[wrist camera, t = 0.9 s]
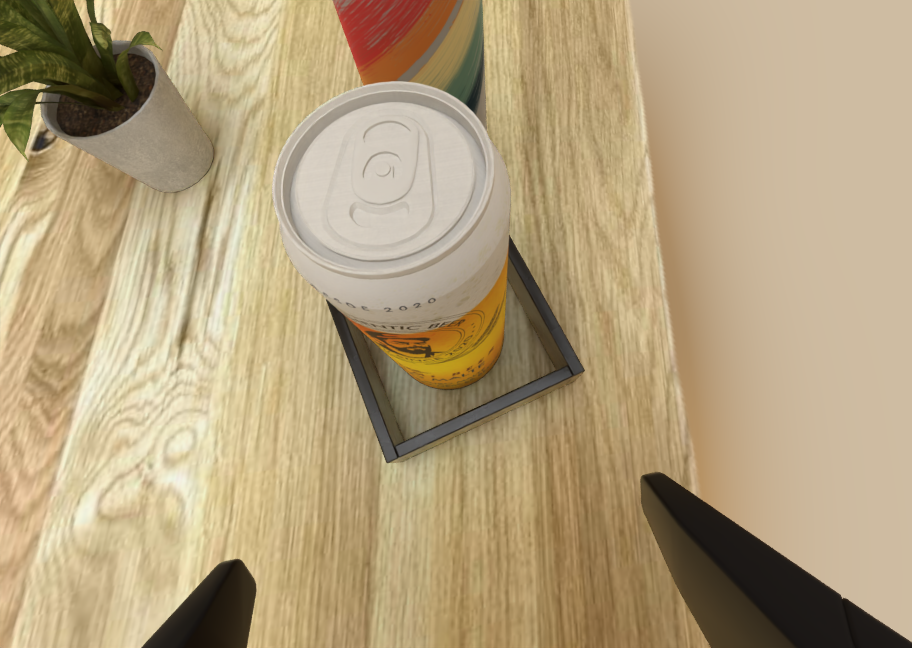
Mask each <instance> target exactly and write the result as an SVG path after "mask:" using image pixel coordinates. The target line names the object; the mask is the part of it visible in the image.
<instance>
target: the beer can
mask: <svg viewBox="0 0 912 648" xmlns="http://www.w3.org/2000/svg"><path fill="white" fill-rule="evenodd" d="M272 192H273V203H274V208H275V212H276V215H277V218H278V220H279V226H280V233H281V238H282V242H283V245H284V247H285V250H286V253H287V255H288V257H289V259H290V261H291V262H292V264H293V265H294V267H295V268H296V270H297V271H298V272H299V273H300V275H301V276H302V277H303V278H304V279H305V280H306V281H307V282H308V283H309V284H310V285H311V286H313V287H314V288H315V289H316V290H317V291H318V292H319V293H320V294H321V295H322V296H324V297H325V298H326V299H327V300H328V301H329V302H330V303H331V304H332V305H333V306H335V307H336V308H337V309H338V310H339V311H340V312H341V313H342V314H343V315H344V316H346V317H347V318H348V319H349V320H350V321H351V322H352V323H353V324H354V325H355V326H357V327H358V328H359V329H360V330H361V331H362V332H363V333H364V334H365V335H366V336H368V337H369V338H370V339H371V340H372V341H373V342H374V343H375V344H376V345H377V346H379V347H380V348H381V349H382V350H383V351H384V352H385V353H386V354H387V355H388V356H390V357H391V358H392V359H393V360H394V361H395V362H396V363H397V364H398V365H399V366H401V367H402V368H403V369H404V370H405V371H406V372H407V373H408V374H409V375H411V376H412V377H413V378H414V379H416V380H417V381H419V382H420V383H422V384H424V385H427V386H430V387H433V388H437V389H457V388H462V387H465V386H468V385H470V384H472V383H474V382H476V381H478V380H479V379H481V378H482V377H483V376H485V375H486V374H487V373H488V372H489V371H490V370H491V368H492V367H493V366H494V364H495V363H496V361H497V359H498V358H499V355H500V353H501V350H502V346H503V340H504V324H505V305H506V285H507V266H508V246H509V226H510V207H511V188H510V180H509V176H508V172H507V168H506V166H505V163H504V161H503V158H502V156H501V154H500V153H499V151H498V149H497V148H496V146H495V145H494V144H493V142H492V141H491V140H490V138H489V137H488V134H487V132H486V130H485V128H484V126H483V125H482V123H481V121H480V120H479V119H478V118H477V116H476V115H475V114H474V113H473V112H472V111H471V110H470V109H469V108H468V107H467V106H466V105H465V104H464V103H462V102H461V101H460V100H458V99H457V98H455V97H454V96H452V95H450V94H448V93H446V92H444V91H442V90H440V89H437V88H434V87H431V86H428V85H424V84H419V83H413V82H403V81H391V82H379V83H374V84H368V85H364V86H361V87H357V88H354V89H352V90H349V91H346V92H344V93H342V94H340V95H338V96H335V97H333V98H332V99H330V100H328V101H327V102H325V103H323V104H322V105H321V106H319V107H318V108H317V109H315V110H314V111H313V112H311V113H310V114H309V115H308V116H307V117H306V118H305V119H304V120H303V121H302V122H301V123H300V124H299V125H298V126H297V127H296V129H295V130H294V131H293V133H292V134H291V135H290V137H289V138H288V140H287V142H286V143H285V145H284V147H283V149H282V151H281V153H280V155H279V158H278V161H277V164H276V167H275V171H274V176H273V187H272Z"/></svg>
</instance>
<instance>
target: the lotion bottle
mask: <svg viewBox="0 0 912 648" xmlns="http://www.w3.org/2000/svg"><path fill="white" fill-rule="evenodd" d="M333 3H334V5H335V8H336V11H337V14H338V16H339V19H340V22H341V25H342V27H343V30H344V33H345V36H346V38H347V41H348V44H349V47H350V49H351V52H352V55H353V58H354V60H355V63H356V66H357V69H358V71H359V74H360V77H361V80H362V82H363V85H368V84H374V83H379V82H391V81H403V82H413V83H419V84H424V85H428V86H431V87H434V88H437V89H440V90H442V91H444V92H446V93H448V94H450V95H452V96H454V97H455V98H457V99H458V100H460V101H461V102H462V103H464V104H465V105H466V106H467V107H468V108H469V109H470V110H471V111H472V112H473V113H474V114H475V115H476V116H477V118H478V119H479V120H480V121H481V123H482V125H483V126H484V128H485V130H486V132H487V123H486V94H485V65H484V37H483V8H482V0H333Z"/></svg>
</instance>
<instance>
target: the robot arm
mask: <svg viewBox="0 0 912 648" xmlns="http://www.w3.org/2000/svg"><path fill="white" fill-rule="evenodd" d="M640 482H641V504H642V508H643V511H644V514H645V516H646V518H647V520H648V523H649V525H650V527H651V530H652V532H653V534H654V536H655V539H656V541H657V543H658V545H659V548H660V550H661V552H662V555H663V557H664V559H665V561H666V564H667V566H668V568H669V571H670V573H671V575H672V577H673V579H674V581H675V584H676V586H677V588H678V589H679V591H680V593H681V595H682V597H683V599H684V600H685V602H686V604H687V606H688V608H689V609H690V611H691V613H692V615H693V616H694V618H695V620H696V622H697V624H698V625H699V627H700V629H701V631H702V632H703V634H704V636H705V638H706V640H707V641H708V643H709V645H710V647H711V648H912V642H910V641H909V640H907V639H906V638H904V637H903V636H901V635H900V634H898V633H897V632H895V631H894V630H892V629H891V628H889V627H888V626H886V625H885V624H883V623H882V622H880V621H879V620H877V619H875V618H874V617H873V616H871V615H870V614H868V613H867V612H865V611H864V610H862V609H861V608H859V607H858V606H856V605H855V604H853V603H852V602H850V601H849V600H848V599H845V598H843V599H842V597H841V595H840V594H839V593H837V592H836V591H834V590H833V589H831V588H830V587H828V586H826V585H825V584H824V583H822V582H821V581H820V580H818V579H817V578H815V577H814V576H812V575H811V574H809V573H808V572H806V571H805V570H803V569H802V568H801V567H799V566H798V565H796V564H795V563H793V562H792V561H790V560H789V559H787V558H786V557H784V556H783V555H781V554H780V553H778V552H777V551H776V550H774V549H773V548H771V547H770V546H768V545H767V544H765V543H764V542H763V541H761V540H760V539H758V538H757V537H755V536H754V535H752V534H751V533H749V532H748V531H746V530H745V529H743V528H742V527H740V526H739V525H738V524H736V523H735V522H733V521H732V520H730V519H729V518H727V517H726V516H725V515H723V514H722V513H720V512H718V511H717V510H716V509H714V508H713V507H711V506H710V505H708V504H707V503H706V502H704V501H703V500H701V499H700V498H698V497H697V496H695V495H694V494H692V493H691V492H689V491H688V490H686V489H685V488H684V487H682V486H681V485H679V484H678V483H676V482H675V481H673V480H672V479H670V478H669V477H667V476H666V475H665V474H663V473H661V472H655V473H650V474H645V475H642V476H641V480H640ZM255 597H256V583H255V580H254V578H253V577H252V575H251V574H250V572H249V570H248V569H247V567H246V566H245V564H244V563H243V562H242V560H240V559H234V560H229V561H224V562H221V563H220V564H218V565H217V566H216V567H215V568H214V569H213V570H212V572H211V573H210V574H209V575H208V576H207V577H206V578H205V579H204V580H203V581H202V582H201V583H200V585H199V586H198V587H197V588H196V589H195V590H194V591H193V592H192V593H191V594H190V595H189V596H188V598H187V599H186V600H185V601H184V602H183V603H182V604H181V605H180V606H179V607H178V608H177V610H176V611H175V612H174V613H173V614H172V615H171V616H170V617H169V618H168V619H167V620H166V621H165V623H164V624H163V625H162V626H161V627H160V628H159V629H158V630H157V631H156V632H155V633H154V634H153V636H152V637H151V638H150V639H149V640H148V641H147V642H146V643H145V644H144V645H143V646H142V647H141V648H247V643H248V637H249V631H250V625H251V620H252V614H253V608H254V602H255Z"/></svg>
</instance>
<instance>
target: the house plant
mask: <svg viewBox="0 0 912 648" xmlns="http://www.w3.org/2000/svg"><path fill="white" fill-rule="evenodd" d="M86 1H87V10H88V14H89V17H90V20H91V22H89V23H90V26H91V31H92V36H93V40H94V43H95V45H94V46H92V44H91V42H90V39H89V37H88V35H87V33H86V31H85V29H84V26H83V23H82V21H81V18H80V16H79V14H78V11H77V9H76V6H75V4H74V1H73V0H0V44H1V45H4V46H6V47H9V48H12V49H14V50H16V51H18V52H15V53H12V54H9V55H6V56H3V57H2V56H0V95H1V94H3V93H5V92H8V91H10V90H13V89H15V88H17V87H20V86H22V85H25V84H28V83H30V82H33V81H34V82H38V83H42V84H46V85H47V86H46V88H45V89H40V90H33V89H23V90H16V91H10V92H8V93H6V94H4V95H2V96H0V127H1V125H2V124H3V125H4V129H5V132H6V133H7V135H8V137H9V139H10V140H11V142H12V143H13V144H14V145H15V146H16V148H17V149H18V150H19V151H20V153H21V154H22V155H23V156H24V157H25V158H26V160H27V161H28V159H27V157H26V155H25V153H24V152H25V149H26V145H27V142H28V139H29V135H30V129H31V124H32V116H33V110H34V105H35V104H40V105H41V116H42V118H43V120H44V123H45V125H46V127H47V128H48V129H49V130H50V131H51V132H52V133H54V134H55V135H56V136H58V137H59V138H61V139H63V140H65V141H67V142H69V143H70V144H72V145H74V146H76V147H78V148H80V149H82V150H83V151H85V152H87V153H89V154H91V155H93V156H95V157H96V158H98V159H100V160H102V161H104V162H106V163H107V164H109V165H111V166H113V167H115V168H117V169H119V170H120V171H122V172H124V173H126V174H128V175H130V176H131V177H133V178H135V179H137V180H139V181H141V182H143V183H144V184H146V185H148V186H150V187H152V188H154V189H156V190H159V191H161V192H177V191H181V190H184V189H186V188H189V187H191V186H192V185H194V184H195V183H197V182H198V181H199V180H200V179H201V178H202V177H203V176H204V175H205V174H206V173H207V171H208V170H209V168H210V166H211V163H212V161H213V154H214V150H213V146H212V143H211V141H210V140H209V138H208V137H207V135H206V134H205V132H204V131H203V129H202V128H201V126H200V125H199V123H198V121H197V120H196V118H195V117H194V115H193V114H192V112H191V111H190V109H189V108H188V106H187V105H186V103H185V101H184V100H183V98H182V97H181V95H180V94H179V92H178V91H177V89H176V88H175V86H174V85H173V83H172V82H171V80H170V78H169V77H168V75H167V74H166V72H165V71H164V69H163V68H162V66H161V65H160V63H159V62H158V60H157V59H156V57H155V56H154V54H153V52H151V51H150V50H149V49H147V48H146V47H144V46H143V45H153V46H155V47H157V48H159V49H160V50H162V49H161V48H160V47H159V46H158V45H156V44H155V42H154V40H153V39H152V37H151V35H150V34H149V32H145V31H142V32H139V33H137V34H136V35H135V36H134V38H133V40H132V41H118V40H115V41H112V40H111V36H110V34H111V31H110V30H109V29H108V28H107V27H106V26H105V25H103V24H102V23H97V21H96V18H95V11H94V0H86ZM162 51H163V50H162ZM40 92H43V96H42V100H41V102H36V99H37V96H38V94H39V93H40ZM28 162H29V161H28Z"/></svg>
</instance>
